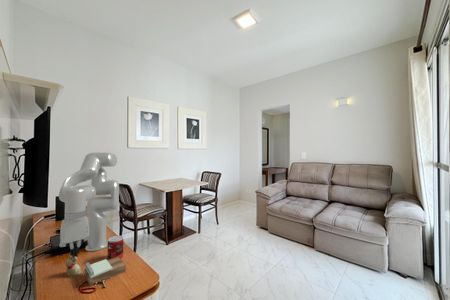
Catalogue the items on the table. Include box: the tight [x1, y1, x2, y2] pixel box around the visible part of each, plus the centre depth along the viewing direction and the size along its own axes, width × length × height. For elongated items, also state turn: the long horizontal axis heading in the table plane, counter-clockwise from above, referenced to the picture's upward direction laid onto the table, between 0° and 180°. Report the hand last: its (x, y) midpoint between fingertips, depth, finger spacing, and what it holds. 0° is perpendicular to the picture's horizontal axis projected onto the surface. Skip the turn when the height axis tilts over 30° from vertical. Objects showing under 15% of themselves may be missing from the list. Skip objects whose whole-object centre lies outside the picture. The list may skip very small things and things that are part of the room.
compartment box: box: [84, 257, 127, 287], centre depth 93 cm, size 12×15×3 cm
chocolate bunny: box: [65, 255, 83, 278], centre depth 93 cm, size 6×8×10 cm
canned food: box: [107, 235, 124, 260], centre depth 108 cm, size 8×8×11 cm
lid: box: [85, 258, 112, 278], centre depth 91 cm, size 11×9×2 cm
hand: (74, 256), depth 84 cm, fingers closed
